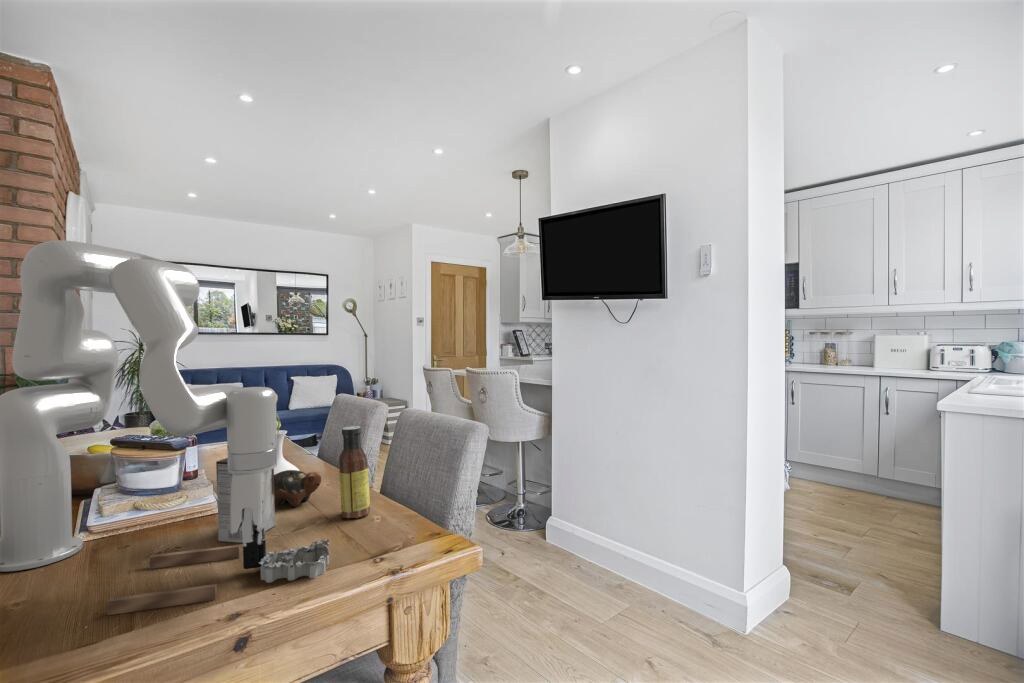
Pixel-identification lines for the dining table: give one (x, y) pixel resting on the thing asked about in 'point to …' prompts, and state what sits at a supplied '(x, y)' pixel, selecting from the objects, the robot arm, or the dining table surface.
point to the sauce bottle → (353, 475)
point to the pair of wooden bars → (176, 595)
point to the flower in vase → (281, 462)
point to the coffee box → (224, 504)
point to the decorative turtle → (294, 486)
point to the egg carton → (295, 562)
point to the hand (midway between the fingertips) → (254, 565)
